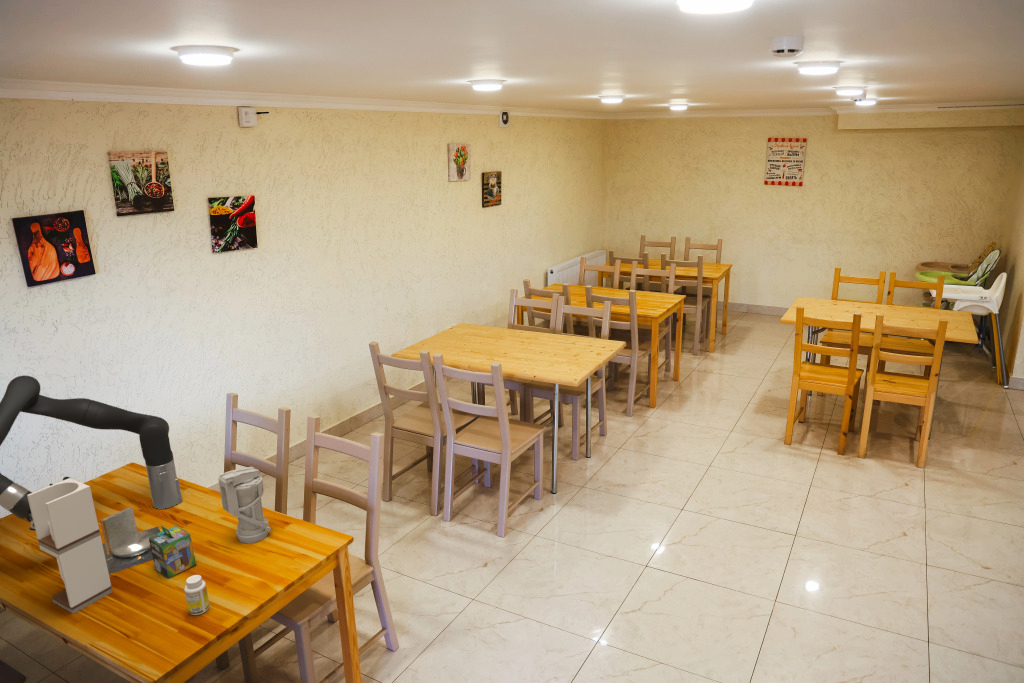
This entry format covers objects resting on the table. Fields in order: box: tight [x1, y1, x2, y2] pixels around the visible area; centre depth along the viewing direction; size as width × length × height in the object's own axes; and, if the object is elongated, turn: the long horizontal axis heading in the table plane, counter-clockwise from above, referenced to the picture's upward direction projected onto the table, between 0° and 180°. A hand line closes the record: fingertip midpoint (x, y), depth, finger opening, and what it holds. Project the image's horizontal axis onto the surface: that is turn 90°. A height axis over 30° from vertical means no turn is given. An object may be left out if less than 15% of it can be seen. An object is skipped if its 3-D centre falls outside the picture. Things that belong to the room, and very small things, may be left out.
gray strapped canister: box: [218, 466, 272, 544], centre depth 228 cm, size 13×10×25 cm
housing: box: [102, 526, 162, 575], centre depth 225 cm, size 18×18×2 cm
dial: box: [99, 506, 155, 558], centre depth 222 cm, size 15×13×14 cm
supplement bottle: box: [183, 574, 210, 616], centre depth 194 cm, size 6×6×10 cm
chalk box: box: [149, 524, 197, 580], centre depth 214 cm, size 9×9×15 cm
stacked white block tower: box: [27, 477, 113, 614], centre depth 198 cm, size 11×11×35 cm
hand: (68, 532), depth 215 cm, fingers closed
